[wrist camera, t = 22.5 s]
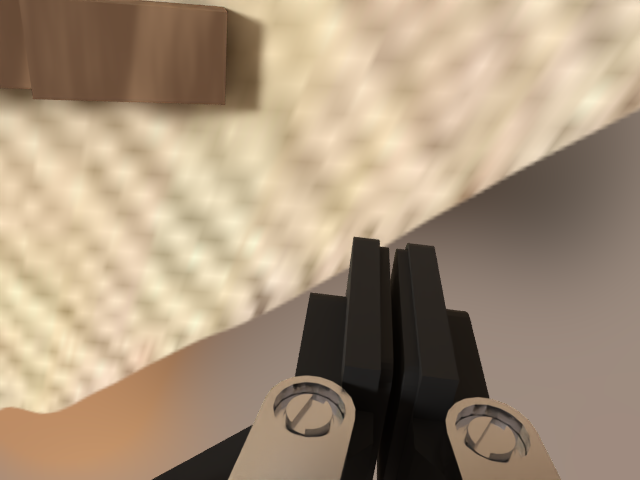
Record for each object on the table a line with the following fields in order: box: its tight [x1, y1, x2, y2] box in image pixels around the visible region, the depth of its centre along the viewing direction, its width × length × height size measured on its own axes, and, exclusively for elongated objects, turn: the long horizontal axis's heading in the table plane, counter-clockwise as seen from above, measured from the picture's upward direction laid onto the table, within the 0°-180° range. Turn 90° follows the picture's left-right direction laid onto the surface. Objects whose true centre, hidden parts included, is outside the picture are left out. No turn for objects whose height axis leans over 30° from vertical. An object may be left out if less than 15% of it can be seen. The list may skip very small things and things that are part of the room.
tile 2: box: [0, 0, 31, 89], centre depth 30 cm, size 2×5×10 cm
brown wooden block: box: [19, 0, 227, 105], centre depth 30 cm, size 2×5×10 cm
